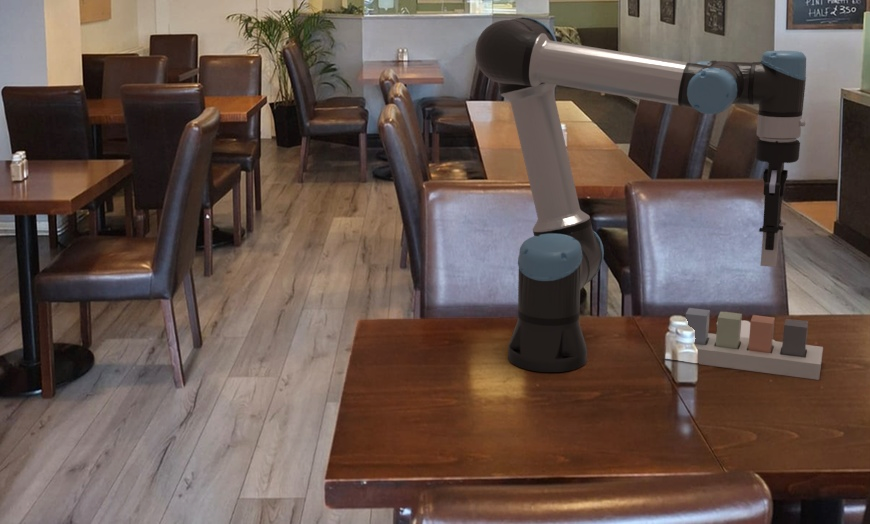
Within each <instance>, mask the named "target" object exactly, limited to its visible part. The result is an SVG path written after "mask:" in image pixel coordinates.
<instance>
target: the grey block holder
mask: <svg viewBox="0 0 870 524" xmlns="http://www.w3.org/2000/svg"><path fill="white" fill-rule="evenodd" d="M716 335H717V333H710V332H708V340H707V343H706V345H700V344H695V345H696V347H697V349H698V363H699V364H698V365H703V366H710V367H718V368H726V369H733V370H739V371H749V372H757V373H764V374H772V375H778V376H787V377H794V378H801V379H810V380H817V381H820V376H821V375H820V374H821V368H822V360H823V354H824V353H823V351H824V347H823V346H817V345H811V344H810V345H809V344H806V350H805V356H804V357H797V356H789V355H782V344H783V341H779V340H778V341H776V340H775V341H773V343H772V350H771V353H765V352H757V351H748V347H749V338H745V337H740V344H739V347H738V349H732V348H724V347H716ZM664 349H665V350H664V352H665V351H666V344H665V345H664Z"/></svg>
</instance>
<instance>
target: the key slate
mask: <svg viewBox="0 0 870 524" xmlns="http://www.w3.org/2000/svg"><path fill="white" fill-rule="evenodd" d="M710 314H711V310H710V309H702V308H695V307H694V308H693V307H688V309H687V310H686V312H685V318H686V319H687V321H688V325H689V326H690V327H692V328H693V329H694V330H695V338H696V339H695V344H700V345H706V343H707V340H708V333H709V330H710Z"/></svg>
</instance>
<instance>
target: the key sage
mask: <svg viewBox="0 0 870 524" xmlns="http://www.w3.org/2000/svg"><path fill="white" fill-rule="evenodd" d="M742 318H743V313H739V312H738V313H737V312H731V311H730V312H729V311H720V312H719V314H718V316H717V322H716V323H717V325H716V334H717V335H716V347H724V348H732V349H738V347H739V344H740V333H741V320H742Z"/></svg>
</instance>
